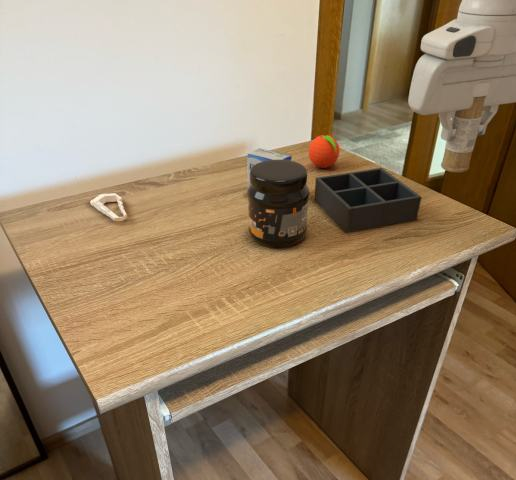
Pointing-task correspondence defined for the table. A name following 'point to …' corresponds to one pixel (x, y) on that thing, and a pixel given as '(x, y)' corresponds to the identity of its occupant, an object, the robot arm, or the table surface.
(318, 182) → the rack
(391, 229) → the table surface
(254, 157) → the medicine box
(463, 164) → the sprinkles bottle
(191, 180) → the table surface
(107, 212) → the cream triangular ring
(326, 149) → the clementine
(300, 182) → the supplement container
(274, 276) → the table surface
